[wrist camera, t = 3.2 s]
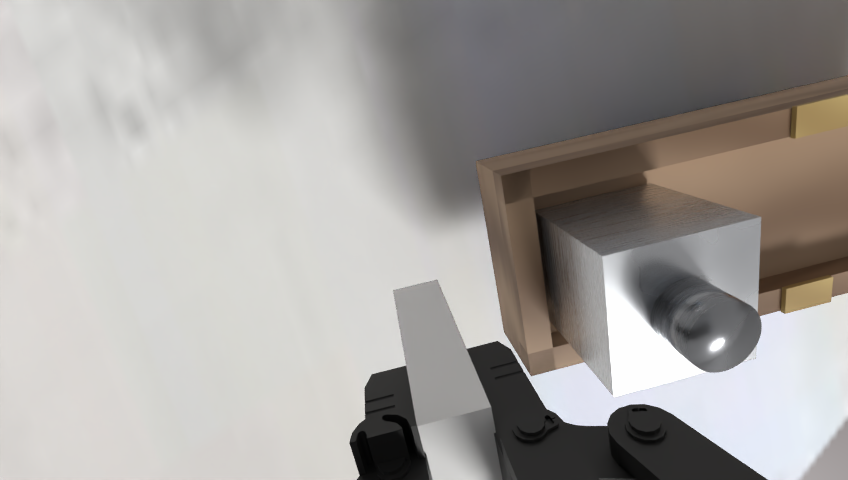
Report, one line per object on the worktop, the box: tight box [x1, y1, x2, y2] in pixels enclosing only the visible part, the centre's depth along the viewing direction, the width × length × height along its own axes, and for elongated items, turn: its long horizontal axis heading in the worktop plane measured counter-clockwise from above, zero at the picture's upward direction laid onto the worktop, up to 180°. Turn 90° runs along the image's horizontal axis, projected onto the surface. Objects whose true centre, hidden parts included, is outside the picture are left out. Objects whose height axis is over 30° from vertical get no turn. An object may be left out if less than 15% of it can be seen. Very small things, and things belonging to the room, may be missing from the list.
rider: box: [535, 183, 761, 397], centre depth 15 cm, size 4×4×6 cm
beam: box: [476, 76, 848, 376], centre depth 21 cm, size 8×23×8 cm, turn 101°
